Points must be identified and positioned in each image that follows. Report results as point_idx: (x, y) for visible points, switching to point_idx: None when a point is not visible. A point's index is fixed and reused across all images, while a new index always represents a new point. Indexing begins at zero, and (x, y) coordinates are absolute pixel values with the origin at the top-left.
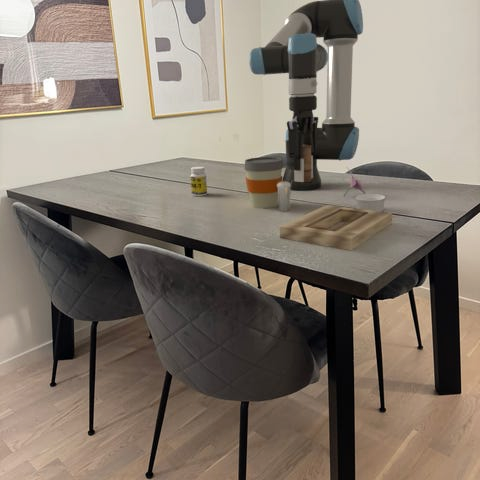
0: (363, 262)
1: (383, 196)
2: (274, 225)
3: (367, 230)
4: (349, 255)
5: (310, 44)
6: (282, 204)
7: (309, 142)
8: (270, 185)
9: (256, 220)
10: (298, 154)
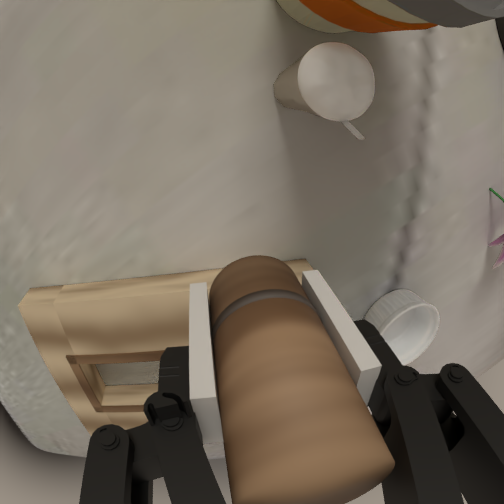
0: (74, 439)
1: (418, 353)
2: (94, 194)
3: None
4: (76, 422)
5: None
6: (279, 93)
7: (390, 498)
8: (326, 3)
9: (105, 94)
10: (150, 481)
